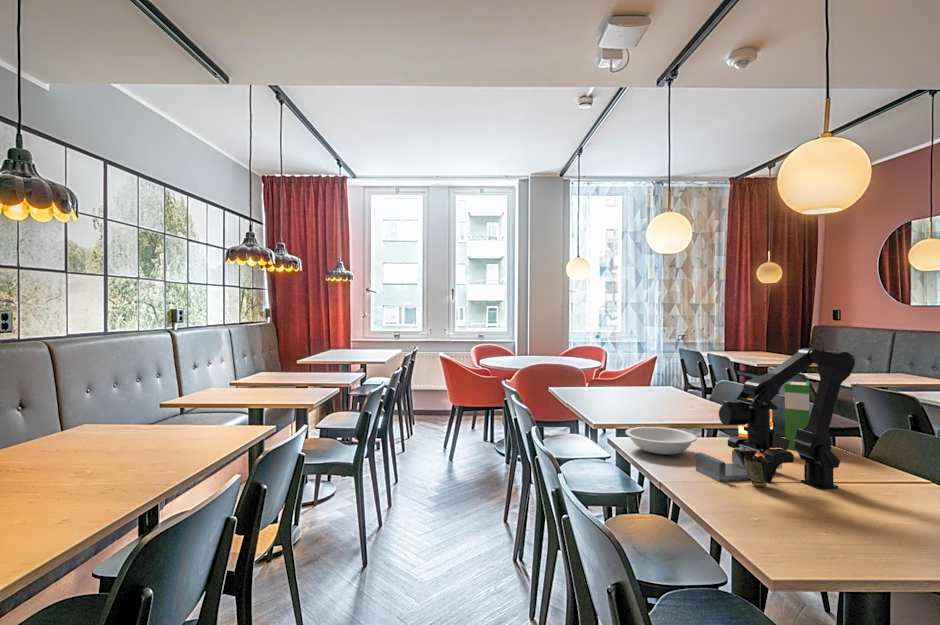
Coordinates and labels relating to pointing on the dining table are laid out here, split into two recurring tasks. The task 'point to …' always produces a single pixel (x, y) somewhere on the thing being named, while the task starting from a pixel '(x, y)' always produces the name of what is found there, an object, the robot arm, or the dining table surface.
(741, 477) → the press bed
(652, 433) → the soup bowl
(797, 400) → the hardback book
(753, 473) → the ornate bronze lampshade
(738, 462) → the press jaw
